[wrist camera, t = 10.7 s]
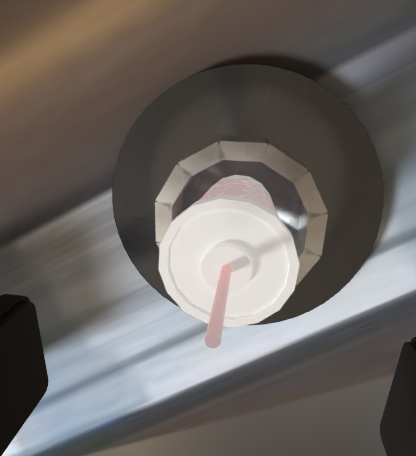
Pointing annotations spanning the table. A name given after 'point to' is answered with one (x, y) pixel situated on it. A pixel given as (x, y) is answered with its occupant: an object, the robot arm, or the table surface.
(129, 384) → the table surface
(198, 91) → the rosette holder
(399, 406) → the robot arm
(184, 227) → the beverage cup
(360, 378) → the table surface
